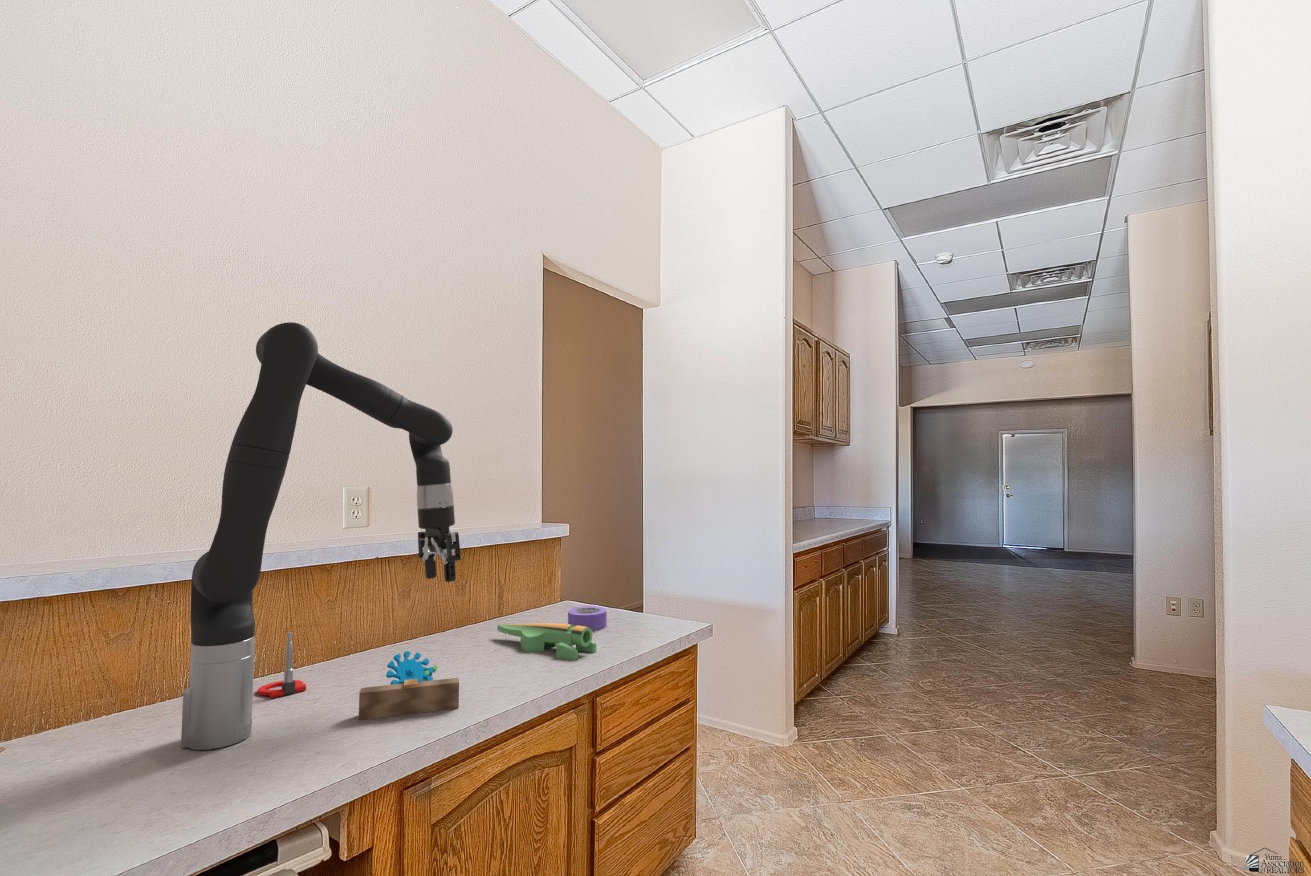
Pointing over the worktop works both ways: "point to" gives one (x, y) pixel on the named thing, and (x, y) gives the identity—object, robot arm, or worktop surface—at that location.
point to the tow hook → (288, 684)
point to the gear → (410, 669)
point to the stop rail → (408, 698)
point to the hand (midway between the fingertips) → (440, 579)
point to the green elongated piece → (552, 637)
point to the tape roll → (588, 617)
